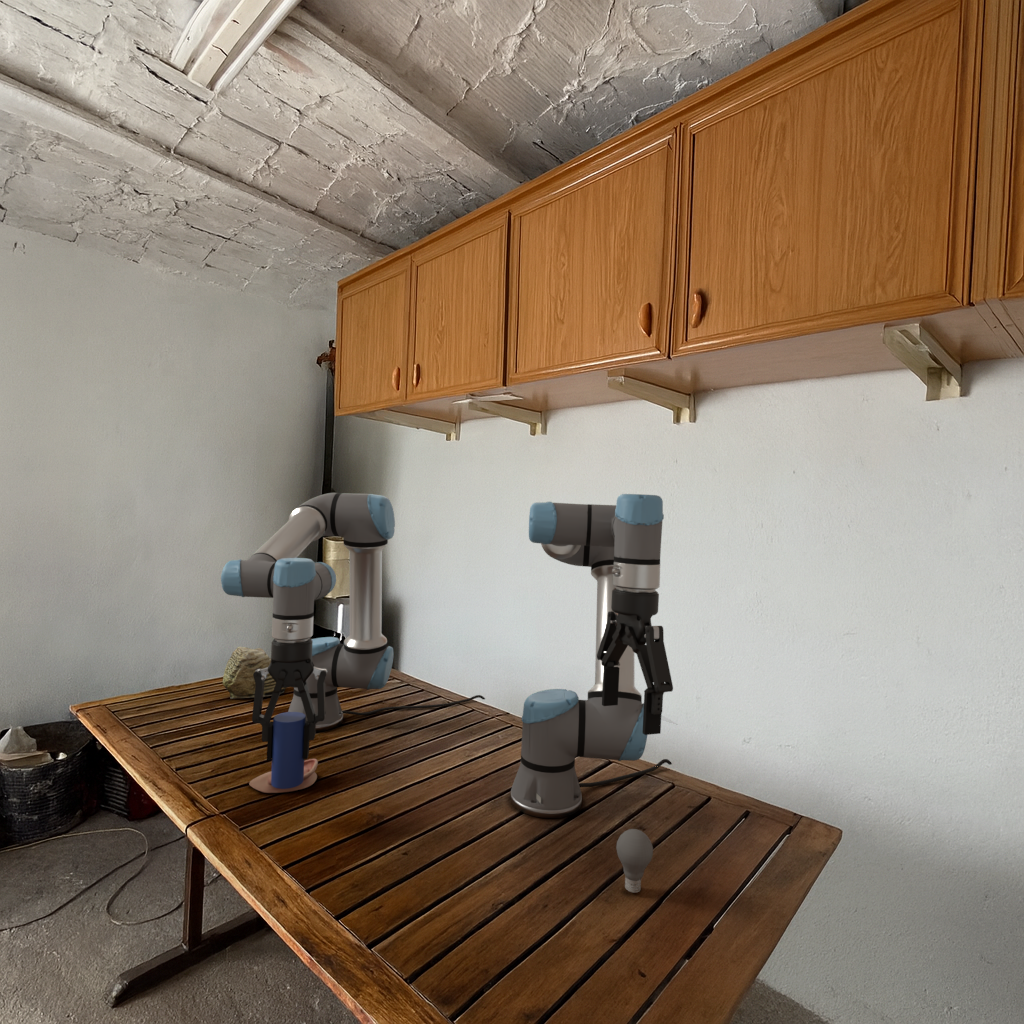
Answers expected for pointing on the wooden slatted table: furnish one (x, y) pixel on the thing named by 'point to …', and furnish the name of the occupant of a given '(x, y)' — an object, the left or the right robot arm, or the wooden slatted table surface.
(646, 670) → the right robot arm
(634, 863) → the light bulb
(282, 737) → the cylinder
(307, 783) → the anatomical model
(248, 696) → the fossil
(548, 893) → the wooden slatted table surface
